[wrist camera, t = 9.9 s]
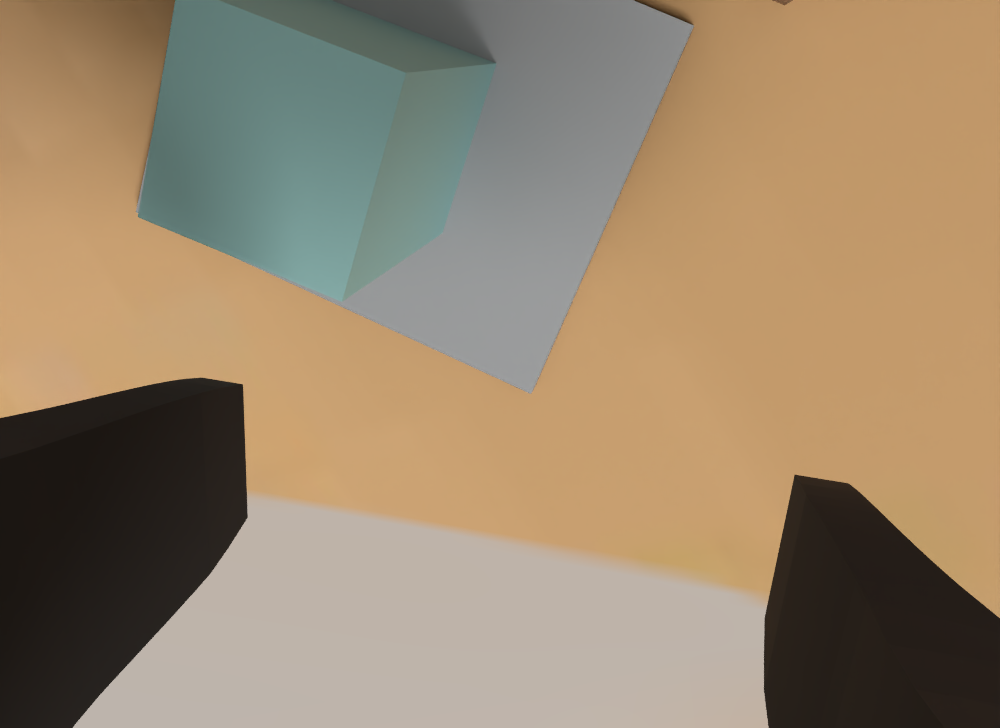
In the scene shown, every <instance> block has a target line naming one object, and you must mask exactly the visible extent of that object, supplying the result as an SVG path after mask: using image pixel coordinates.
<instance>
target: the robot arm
mask: <svg viewBox="0 0 1000 728" xmlns="http://www.w3.org/2000/svg"><path fill="white" fill-rule="evenodd" d="M246 519H247V488H246V459H245V431H244V402H243V384H237V383H231V382H225V381H219V380H212V379H206V378H192V379H181V380H174V381H168V382H163V383H157V384H152V385H148V386H143V387H138V388H134V389H129V390H125V391H120V392H116V393H112V394H107V395H103V396H99V397H95V398H90V399H86V400H82V401H77V402H73V403H69V404H65V405H60V406H56V407H52V408H47V409H42V410H37V411H33V412H28V413H23V414H18V415H13V416H9V417H4V418H0V728H73V726H74V725H75V724H76V722H77V721H78V720H79V719H80V718H81V716H82V715H83V714H84V713H85V712H86V711H87V709H88V708H89V707H90V706H91V705H92V703H93V702H94V701H95V700H96V699H97V698H98V696H99V695H100V694H101V693H102V692H103V691H104V689H106V687H107V686H108V685H109V684H110V683H111V682H112V681H113V680H114V679H115V678H116V676H118V674H119V673H120V672H121V671H122V670H123V669H124V668H125V667H126V666H127V664H129V663H130V661H131V660H132V659H133V658H134V657H135V656H136V655H137V654H138V653H139V652H140V651H141V650H142V648H143V647H144V646H145V645H146V644H147V643H148V642H149V641H150V640H151V639H152V637H154V635H155V634H156V633H157V632H158V631H159V630H160V629H161V628H162V627H163V626H164V625H165V624H166V622H167V621H168V620H169V619H170V618H171V617H172V616H173V615H174V614H175V612H176V611H177V610H178V609H179V608H180V607H181V606H182V605H183V604H184V603H185V601H186V600H187V599H188V598H189V597H190V596H191V595H192V594H193V593H194V592H195V590H196V589H197V588H198V587H199V586H200V585H201V584H202V582H203V581H204V580H205V579H206V578H207V577H208V576H209V574H210V573H211V572H212V570H213V569H214V567H215V566H216V565H217V563H218V562H219V560H220V559H221V558H222V556H223V555H224V553H225V552H226V550H227V549H228V547H229V546H230V544H231V543H232V541H233V540H234V538H235V536H236V535H237V533H238V532H239V530H240V529H241V527H242V525H243V524H244V522H245V521H246ZM764 638H765V639H764V693H765V701H766V710H767V718H768V726H769V728H1000V618H999V617H997V616H996V615H995V614H994V613H993V612H991V611H990V610H989V609H988V608H986V607H985V606H984V605H983V604H981V603H980V602H979V601H978V600H977V599H975V598H974V597H973V596H972V595H970V594H969V593H968V592H967V591H965V590H964V589H963V588H962V587H961V586H960V585H958V584H957V583H956V582H955V581H954V580H953V579H951V578H950V577H949V576H948V575H947V574H946V573H945V572H943V571H942V570H941V569H940V568H939V567H938V566H937V565H936V564H935V563H933V562H932V561H931V560H930V559H929V558H928V557H927V556H926V555H925V554H924V553H923V552H921V551H920V550H919V549H918V548H917V547H916V546H915V545H914V544H913V543H912V542H911V541H910V540H909V539H908V538H907V537H906V536H904V535H903V534H902V533H901V532H900V531H899V530H898V529H897V528H896V527H895V526H894V525H893V524H892V523H891V522H890V521H889V520H888V519H887V518H886V517H885V516H884V515H883V514H882V513H881V512H880V511H879V510H878V509H877V508H876V507H874V506H873V505H872V504H871V503H870V502H869V501H868V500H867V499H866V498H865V497H864V496H863V495H862V494H861V493H860V492H858V491H857V490H856V489H855V488H854V487H852V486H851V485H850V484H848V483H842V482H836V481H830V480H823V479H817V478H811V477H805V476H799V475H795V476H794V481H793V486H792V491H791V495H790V500H789V505H788V510H787V514H786V519H785V524H784V529H783V534H782V538H781V543H780V548H779V553H778V557H777V562H776V567H775V572H774V577H773V581H772V586H771V591H770V596H769V600H768V605H767V610H766V615H765V637H764Z"/></svg>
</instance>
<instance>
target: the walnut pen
mask: <svg viewBox="0 0 1000 728" xmlns="http://www.w3.org/2000/svg"><path fill="white" fill-rule="evenodd" d="M773 1H776V2H778V3H781V4H783V5H786V4H787V3H789V2H791V1H792V0H773Z"/></svg>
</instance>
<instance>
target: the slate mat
mask: <svg viewBox="0 0 1000 728" xmlns="http://www.w3.org/2000/svg"><path fill="white" fill-rule="evenodd" d="M332 1H335V2H337V3H340V4H343V5H345V6H348V7H350V8H353V9H356V10H358V11H361V12H364V13H366V14H369V15H371V16H374V17H377V18H379V19H382V20H384V21H387V22H390V23H392V24H395V25H398V26H400V27H403V28H405V29H408V30H411V31H413V32H416V33H418V34H421V35H424V36H426V37H429V38H432V39H434V40H437V41H439V42H442V43H445V44H447V45H450V46H452V47H455V48H458V49H460V50H463V51H466V52H468V53H471V54H473V55H476V56H479V57H481V58H484V59H486V60H489V61H492V62H494V63H497V64H496V67H495V70H494V73H493V76H492V79H491V82H490V85H489V89H488V92H487V95H486V98H485V101H484V104H483V107H482V111H481V114H480V117H479V120H478V123H477V126H476V129H475V132H474V136H473V139H472V142H471V145H470V148H469V151H468V154H467V157H466V161H465V164H464V167H463V170H462V173H461V176H460V179H459V183H458V186H457V189H456V192H455V195H454V198H453V201H452V204H451V208H450V211H449V214H448V217H447V220H446V223H445V226H444V229H443V233H442V234H440V235H439V236H438V237H436V238H435V239H433V240H432V241H430V242H429V243H427V244H426V245H424V246H423V247H421V248H420V249H419V250H417V251H416V252H414V253H413V254H411V255H410V256H408V257H407V258H405V259H404V260H402V261H401V262H400V263H398V264H397V265H395V266H394V267H392V268H391V269H389V270H388V271H386V272H385V273H383V274H382V275H381V276H379V277H378V278H376V279H375V280H373V281H372V282H370V283H369V284H367V285H366V286H364V287H363V288H362V289H360V290H359V291H357V292H356V293H354V294H353V295H351V296H350V297H348V298H347V299H345V300H344V301H342V302H341V301H338V300H336V299H334V298H331V297H329V296H326V295H324V294H322V293H319V292H317V291H314V290H312V289H310V288H307V287H305V286H302V285H300V284H298V283H295V282H293V281H290V280H288V279H286V278H283V277H281V276H278V275H276V274H274V273H271V272H269V271H266V270H264V269H262V268H259V267H257V266H254V265H252V264H250V263H248V264H250V265H252V266H254V267H256V268H259V269H261V270H263V271H265V272H267V273H269V274H272V275H274V276H276V277H278V278H280V279H282V280H285V281H287V282H289V283H291V284H293V285H295V286H298V287H300V288H302V289H304V290H306V291H309V292H311V293H313V294H315V295H317V296H319V297H322V298H324V299H326V300H328V301H330V302H332V303H335V304H337V305H339V306H341V307H343V308H345V309H348V310H350V311H352V312H354V313H356V314H359V315H361V316H363V317H365V318H367V319H369V320H372V321H374V322H376V323H378V324H380V325H382V326H385V327H387V328H389V329H391V330H393V331H395V332H398V333H400V334H402V335H404V336H406V337H408V338H411V339H413V340H415V341H417V342H419V343H422V344H424V345H426V346H428V347H430V348H432V349H435V350H437V351H439V352H441V353H443V354H445V355H448V356H450V357H452V358H454V359H456V360H458V361H461V362H463V363H465V364H467V365H469V366H472V367H474V368H476V369H478V370H480V371H482V372H485V373H487V374H489V375H491V376H493V377H495V378H498V379H500V380H502V381H504V382H506V383H508V384H511V385H513V386H515V387H517V388H519V389H522V390H524V391H526V392H528V393H530V394H531V393H532V391H533V389H534V387H535V385H536V383H537V381H538V378H539V376H540V374H541V372H542V369H543V367H544V365H545V362H546V360H547V358H548V356H549V353H550V351H551V349H552V347H553V344H554V342H555V340H556V338H557V335H558V333H559V331H560V329H561V326H562V324H563V322H564V319H565V317H566V315H567V313H568V310H569V308H570V306H571V304H572V301H573V299H574V297H575V295H576V292H577V290H578V288H579V285H580V283H581V281H582V279H583V276H584V274H585V272H586V270H587V267H588V265H589V263H590V261H591V258H592V256H593V254H594V252H595V249H596V247H597V245H598V242H599V240H600V238H601V236H602V233H603V231H604V229H605V227H606V224H607V222H608V220H609V218H610V215H611V213H612V211H613V209H614V206H615V204H616V202H617V199H618V197H619V195H620V193H621V190H622V188H623V186H624V184H625V181H626V179H627V177H628V175H629V172H630V170H631V168H632V166H633V163H634V161H635V159H636V156H637V154H638V152H639V150H640V147H641V145H642V143H643V141H644V138H645V136H646V134H647V132H648V129H649V127H650V125H651V123H652V120H653V118H654V116H655V113H656V111H657V109H658V107H659V104H660V102H661V100H662V98H663V95H664V93H665V91H666V89H667V86H668V84H669V82H670V80H671V77H672V75H673V73H674V70H675V68H676V66H677V64H678V61H679V59H680V57H681V55H682V52H683V50H684V48H685V46H686V43H687V41H688V39H689V36H690V34H691V32H692V30H693V27H694V25H691V24H689V23H687V22H684V21H682V20H679V19H677V18H675V17H672V16H670V15H667V14H665V13H663V12H660V11H658V10H655V9H653V8H651V7H648V6H646V5H643V4H641V3H639V2H636V1H634V0H332ZM150 144H151V143H150ZM149 150H150V148H149ZM148 156H149V152H148ZM147 161H148V157H147ZM146 167H147V162H146ZM146 167H145V171H144V176H143V181H142V185H141V190H140V195H139V200H138V204H137V209H136V212H137V213H139V207H140V202H141V196H142V190H143V184H144V179H145V173H146ZM232 257H233V256H232ZM237 259H238V258H237ZM239 260H240V259H239ZM241 261H242V260H241ZM243 262H245V261H243ZM245 263H247V262H245Z"/></svg>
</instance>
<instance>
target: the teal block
mask: <svg viewBox="0 0 1000 728" xmlns="http://www.w3.org/2000/svg"><path fill="white" fill-rule="evenodd" d="M496 64H497V63H494V62H492V61H489V60H486V59H484V58H481V57H479V56H476V55H473V54H471V53H468V52H466V51H463V50H460V49H458V48H455V47H452V46H450V45H447V44H445V43H442V42H439V41H437V40H434V39H432V38H429V37H426V36H424V35H421V34H418V33H416V32H413V31H411V30H408V29H405V28H403V27H400V26H398V25H395V24H392V23H390V22H387V21H384V20H382V19H379V18H377V17H374V16H371V15H369V14H366V13H364V12H361V11H358V10H356V9H353V8H350V7H348V6H345V5H343V4H340V3H337V2H335V1H332V0H175V5H174V11H173V17H172V23H171V28H170V34H169V40H168V46H167V52H166V57H165V63H164V69H163V75H162V80H161V86H160V92H159V98H158V104H157V109H156V115H155V121H154V127H153V132H152V138H151V144H150V150H149V156H148V161H147V167H146V173H145V179H144V184H143V190H142V196H141V202H140V207H139V213H138V217H139V218H142V219H144V220H146V221H149V222H151V223H154V224H156V225H158V226H161V227H163V228H166V229H168V230H170V231H173V232H175V233H178V234H180V235H182V236H185V237H187V238H190V239H192V240H194V241H197V242H199V243H202V244H204V245H206V246H209V247H211V248H214V249H216V250H218V251H221V252H223V253H226V254H228V255H230V256H233V257H235V258H238V259H240V260H242V261H245V262H247V263H250V264H252V265H254V266H257V267H259V268H262V269H264V270H266V271H269V272H271V273H274V274H276V275H278V276H281V277H283V278H286V279H288V280H290V281H293V282H295V283H298V284H300V285H302V286H305V287H307V288H310V289H312V290H314V291H317V292H319V293H322V294H324V295H326V296H329V297H331V298H334V299H336V300H338V301H341V302H342V301H344V300H345V299H347V298H348V297H350V296H351V295H353V294H354V293H356V292H357V291H359V290H360V289H362V288H363V287H364V286H366V285H367V284H369V283H370V282H372V281H373V280H375V279H376V278H378V277H379V276H381V275H382V274H383V273H385V272H386V271H388V270H389V269H391V268H392V267H394V266H395V265H397V264H398V263H400V262H401V261H402V260H404V259H405V258H407V257H408V256H410V255H411V254H413V253H414V252H416V251H417V250H419V249H420V248H421V247H423V246H424V245H426V244H427V243H429V242H430V241H432V240H433V239H435V238H436V237H438V236H439V235H440V234H442V233H443V229H444V226H445V223H446V220H447V217H448V214H449V211H450V208H451V204H452V201H453V198H454V195H455V192H456V189H457V186H458V183H459V179H460V176H461V173H462V170H463V167H464V164H465V161H466V157H467V154H468V151H469V148H470V145H471V142H472V139H473V136H474V132H475V129H476V126H477V123H478V120H479V117H480V114H481V111H482V107H483V104H484V101H485V98H486V95H487V92H488V89H489V85H490V82H491V79H492V76H493V73H494V70H495V67H496Z"/></svg>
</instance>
